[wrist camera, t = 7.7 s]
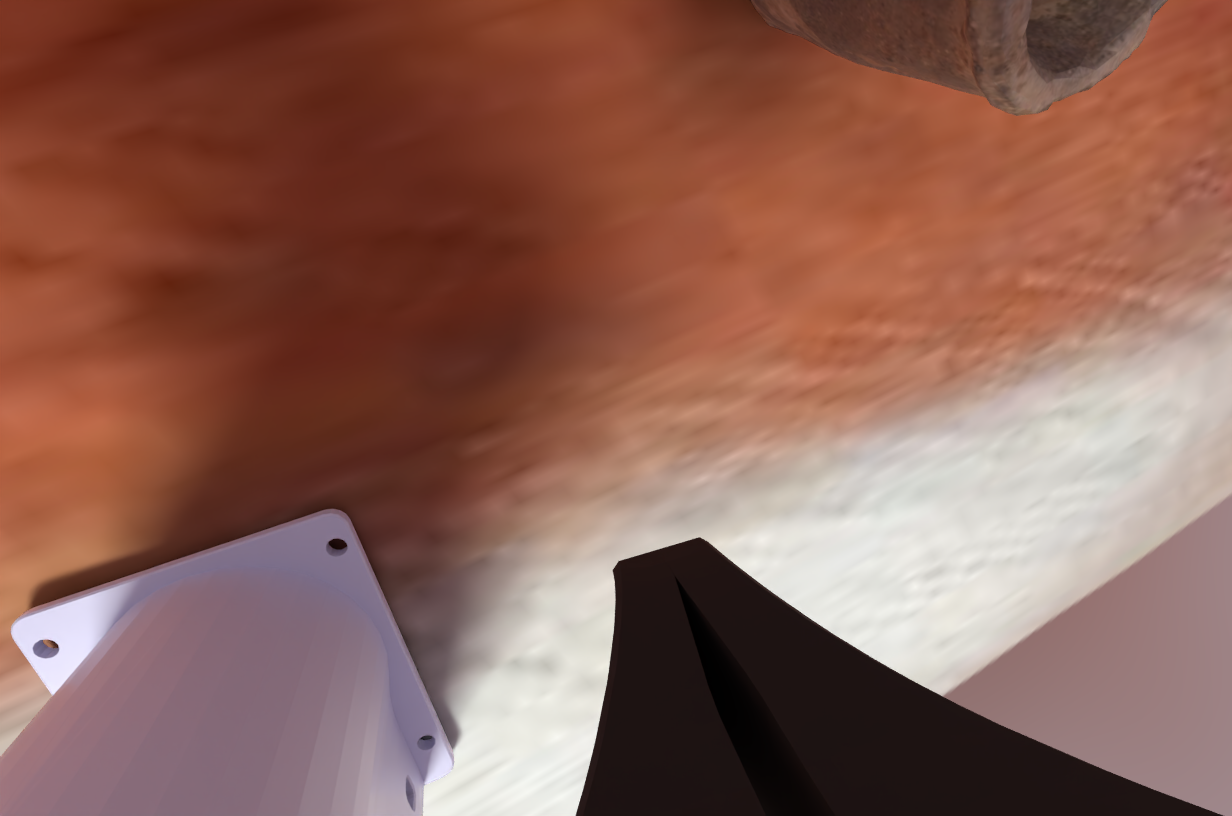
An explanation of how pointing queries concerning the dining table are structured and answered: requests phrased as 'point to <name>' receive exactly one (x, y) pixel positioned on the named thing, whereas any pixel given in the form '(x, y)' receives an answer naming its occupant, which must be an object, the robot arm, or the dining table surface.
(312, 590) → the robot arm
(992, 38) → the pipe
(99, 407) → the dining table surface
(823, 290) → the dining table surface
